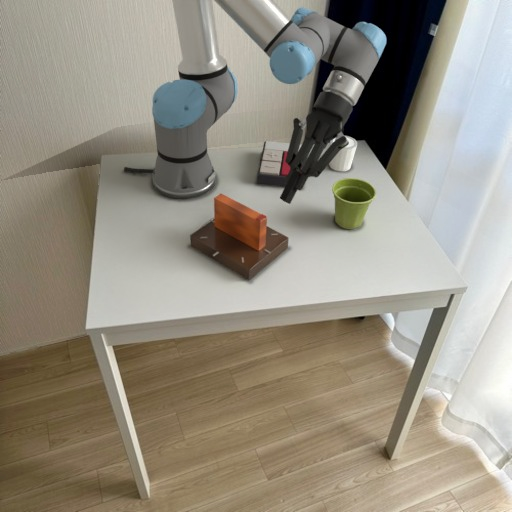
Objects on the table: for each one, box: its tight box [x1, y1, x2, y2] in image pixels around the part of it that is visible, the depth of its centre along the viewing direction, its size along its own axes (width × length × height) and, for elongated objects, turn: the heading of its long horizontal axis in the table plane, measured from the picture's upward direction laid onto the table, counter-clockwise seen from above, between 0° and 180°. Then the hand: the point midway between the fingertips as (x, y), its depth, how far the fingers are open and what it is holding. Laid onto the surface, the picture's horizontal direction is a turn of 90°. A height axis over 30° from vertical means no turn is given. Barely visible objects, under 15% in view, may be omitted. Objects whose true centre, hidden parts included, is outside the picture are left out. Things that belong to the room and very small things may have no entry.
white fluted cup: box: [328, 135, 358, 172], centre depth 134 cm, size 7×7×7 cm
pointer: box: [213, 193, 268, 251], centre depth 106 cm, size 12×2×8 cm, turn 52°
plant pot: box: [331, 177, 377, 230], centre depth 116 cm, size 9×9×9 cm
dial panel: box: [189, 218, 290, 281], centre depth 110 cm, size 16×16×3 cm
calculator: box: [256, 140, 305, 188], centre depth 132 cm, size 11×4×15 cm
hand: (284, 201), depth 108 cm, fingers closed
